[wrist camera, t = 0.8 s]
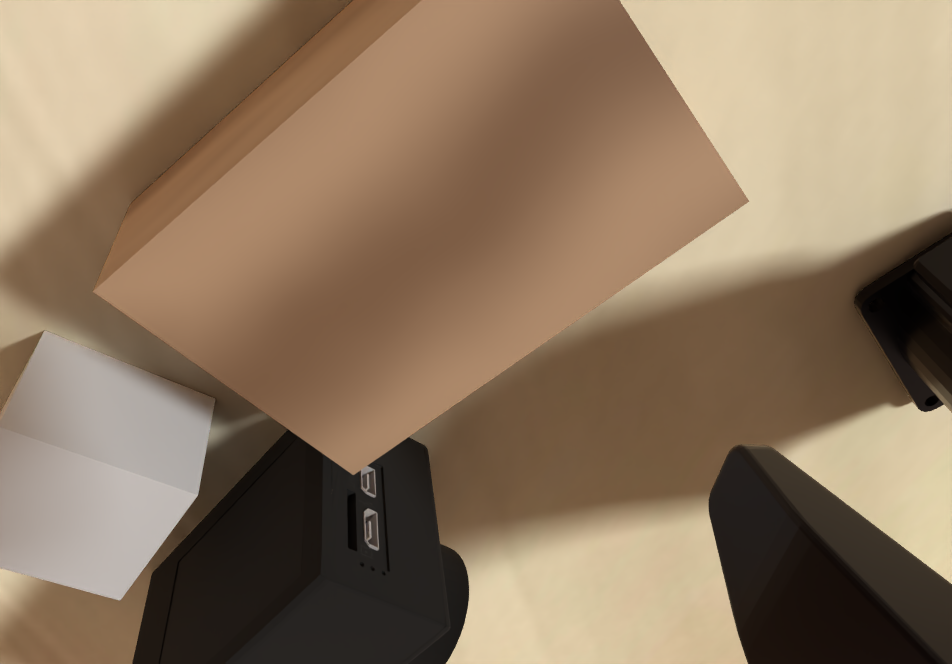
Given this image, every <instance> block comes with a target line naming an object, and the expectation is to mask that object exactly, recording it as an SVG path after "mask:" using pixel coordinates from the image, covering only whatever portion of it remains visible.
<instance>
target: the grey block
mask: <svg viewBox="0 0 952 664" xmlns="http://www.w3.org/2000/svg"><path fill="white" fill-rule="evenodd" d="M214 404H215V398H212V397H210V396H207V395H205V394H202V393H200V392H197V391H195V390H192V389H190V388H187V387H185V386H182V385H180V384H177V383H175V382H172V381H170V380H167V379H165V378H162V377H160V376H157V375H155V374H152V373H150V372H147V371H145V370H142V369H140V368H137V367H135V366H132V365H130V364H128V363H125V362H123V361H120V360H118V359H115V358H113V357H110V356H108V355H105V354H103V353H100V352H98V351H95V350H93V349H90V348H88V347H85V346H83V345H80V344H78V343H75V342H73V341H70V340H68V339H65V338H63V337H60V336H58V335H55V334H53V333H50V332H48V331H45V330H44V332H43V334H42V336H41V338H40V340H39V342H38V343H37V345H36V347H35V349H34V351H33V353H32V355H31V357H30V358H29V360H28V362H27V364H26V366H25V368H24V370H23V371H22V373H21V375H20V377H19V379H18V381H17V383H16V384H15V386H14V388H13V390H12V392H11V394H10V396H9V398H8V399H7V401H6V403H5V405H4V407H3V409H2V411H1V412H0V568H2V569H5V570H9V571H13V572H16V573H20V574H24V575H27V576H31V577H35V578H38V579H42V580H46V581H49V582H53V583H57V584H61V585H64V586H68V587H72V588H75V589H79V590H83V591H86V592H90V593H94V594H97V595H101V596H105V597H108V598H112V599H116V600H119V601H120V600H121V599H122V598H123V596H124V595H125V593H126V592H127V591H128V589H129V588H130V587H131V585H132V584H133V583H134V581H135V580H136V579H137V577H138V576H139V575H140V573H141V572H142V570H143V569H144V568H145V566H146V565H147V564H148V562H149V561H150V560H151V558H152V557H153V556H154V554H155V553H156V551H157V550H158V549H159V547H160V546H161V545H162V543H163V542H164V541H165V539H166V538H167V537H168V535H169V534H170V533H171V531H172V530H173V528H174V527H175V526H176V524H177V523H178V522H179V520H180V519H181V518H182V516H183V515H184V514H185V512H186V511H187V509H188V508H189V507H190V505H191V504H192V503H193V501H194V500H195V499H196V497H197V496H198V493H199V487H200V482H201V476H202V470H203V465H204V459H205V454H206V448H207V443H208V437H209V432H210V426H211V421H212V415H213V410H214Z"/></svg>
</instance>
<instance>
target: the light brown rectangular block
mask: <svg viewBox="0 0 952 664" xmlns="http://www.w3.org/2000/svg"><path fill="white" fill-rule="evenodd" d="M747 202H749V200H748V199H747V197H746V196H745V194H744V193H743V191H742V190H741V188H740V187H739V185H738V183H737V182H736V180H735V179H734V177H733V176H732V174H731V173H730V171H729V169H728V168H727V166H726V165H725V163H724V162H723V160H722V159H721V157H720V156H719V154H718V152H717V151H716V149H715V148H714V146H713V145H712V143H711V142H710V140H709V139H708V137H707V135H706V134H705V132H704V131H703V129H702V128H701V126H700V125H699V123H698V121H697V120H696V118H695V117H694V115H693V114H692V112H691V111H690V109H689V108H688V106H687V104H686V103H685V101H684V100H683V98H682V97H681V95H680V94H679V92H678V91H677V89H676V87H675V86H674V84H673V83H672V81H671V80H670V78H669V77H668V75H667V74H666V72H665V70H664V69H663V67H662V66H661V64H660V63H659V61H658V60H657V58H656V56H655V55H654V53H653V52H652V50H651V49H650V47H649V46H648V44H647V43H646V41H645V39H644V38H643V36H642V35H641V33H640V32H639V30H638V29H637V27H636V26H635V24H634V22H633V21H632V19H631V18H630V16H629V15H628V13H627V12H626V10H625V9H624V7H623V5H622V4H621V2H620V1H619V0H353V1H352V2H351V3H349V4H348V5H347V6H346V7H345V8H344V9H343V10H342V11H341V12H340V13H339V14H337V15H336V16H335V17H334V18H333V19H332V20H331V21H330V22H329V23H328V24H327V25H325V26H324V27H323V28H322V29H321V30H320V31H319V32H318V33H317V34H316V35H314V36H313V37H312V38H311V39H310V40H309V41H308V42H307V43H306V44H305V45H304V46H302V47H301V48H300V49H299V50H298V51H297V52H296V53H295V54H294V55H293V56H292V57H290V58H289V59H288V60H287V61H286V62H285V63H284V64H283V65H282V66H281V67H279V68H278V69H277V70H276V71H275V72H274V73H273V74H272V75H271V76H270V77H269V78H267V79H266V80H265V81H264V82H263V83H262V84H261V85H260V86H259V87H258V88H257V89H255V90H254V91H253V92H252V93H251V94H250V95H249V96H248V97H247V98H246V99H244V100H243V101H242V102H241V103H240V104H239V105H238V106H237V107H236V108H235V109H234V110H232V111H231V112H230V113H229V114H228V115H227V116H226V117H225V118H224V119H223V120H221V121H220V122H219V123H218V124H217V125H216V126H215V127H214V128H213V129H212V130H211V131H209V132H208V133H207V134H206V135H205V136H204V137H203V138H202V139H201V140H200V141H199V142H197V143H196V144H195V145H194V146H193V147H192V148H191V149H190V150H189V151H188V152H186V153H185V154H184V155H183V156H182V157H181V158H180V159H179V160H178V161H177V162H176V163H174V164H173V165H172V166H171V167H170V168H169V169H168V170H167V171H166V172H165V173H164V174H162V175H161V176H160V177H159V178H158V179H157V180H156V181H155V182H154V183H153V184H151V185H150V186H149V187H148V188H147V189H146V190H145V191H144V192H143V193H142V194H141V195H139V196H138V197H137V198H136V199H135V200H134V201H133V202H132V203H131V204H130V206H129V208H128V210H127V213H126V215H125V217H124V220H123V222H122V224H121V227H120V229H119V231H118V234H117V236H116V238H115V241H114V243H113V245H112V248H111V250H110V252H109V255H108V257H107V259H106V262H105V264H104V266H103V269H102V271H101V273H100V276H99V278H98V280H97V283H96V285H95V287H94V290H93V292H94V293H95V294H97V295H98V296H100V297H101V298H102V299H104V300H105V301H107V302H108V303H109V304H111V305H112V306H114V307H115V308H117V309H118V310H119V311H121V312H122V313H124V314H125V315H127V316H128V317H129V318H131V319H132V320H134V321H135V322H136V323H138V324H139V325H141V326H142V327H144V328H145V329H146V330H148V331H149V332H151V333H152V334H154V335H155V336H156V337H158V338H159V339H161V340H162V341H163V342H165V343H166V344H168V345H169V346H171V347H172V348H173V349H175V350H176V351H178V352H179V353H181V354H182V355H183V356H185V357H186V358H188V359H189V360H190V361H192V362H193V363H195V364H196V365H198V366H199V367H200V368H202V369H203V370H205V371H206V372H208V373H209V374H210V375H212V376H213V377H215V378H216V379H217V380H219V381H220V382H222V383H223V384H225V385H226V386H227V387H229V388H230V389H232V390H233V391H234V392H236V393H237V394H239V395H240V396H242V397H243V398H244V399H246V400H247V401H249V402H250V403H252V404H253V405H254V406H256V407H257V408H259V409H260V410H261V411H263V412H264V413H266V414H267V415H269V416H270V417H271V418H273V419H274V420H276V421H277V422H279V423H280V424H281V425H283V426H284V427H286V428H287V429H288V430H290V431H291V432H293V433H294V434H296V435H297V436H298V437H300V438H301V439H303V440H304V441H306V442H307V443H308V444H310V445H311V446H313V447H314V448H315V449H317V450H318V451H320V452H321V453H323V454H324V455H325V456H327V457H328V458H330V459H331V460H333V461H334V462H335V463H337V464H338V465H340V466H341V467H342V468H344V469H345V470H347V471H348V472H350V473H351V474H352V475H354V474H356V473H357V472H359V471H360V470H362V469H363V468H365V467H366V466H367V465H369V464H370V463H372V462H373V461H375V460H376V459H378V458H379V457H380V456H382V455H383V454H385V453H386V452H388V451H389V450H391V449H392V448H393V447H395V446H396V445H398V444H399V443H401V442H402V441H404V440H405V439H406V438H408V437H409V436H411V435H412V434H414V433H415V432H417V431H418V430H419V429H421V428H422V427H424V426H425V425H427V424H428V423H430V422H431V421H432V420H434V419H435V418H437V417H438V416H440V415H441V414H443V413H444V412H445V411H447V410H448V409H450V408H451V407H453V406H454V405H456V404H457V403H458V402H460V401H461V400H463V399H464V398H466V397H467V396H469V395H470V394H471V393H473V392H474V391H476V390H477V389H479V388H480V387H482V386H483V385H484V384H486V383H487V382H489V381H490V380H492V379H493V378H495V377H496V376H497V375H499V374H500V373H502V372H503V371H505V370H506V369H508V368H509V367H510V366H512V365H513V364H515V363H516V362H518V361H519V360H521V359H522V358H523V357H525V356H526V355H528V354H529V353H531V352H532V351H534V350H535V349H536V348H538V347H539V346H541V345H542V344H544V343H545V342H547V341H548V340H549V339H551V338H552V337H554V336H555V335H557V334H558V333H560V332H561V331H562V330H564V329H565V328H567V327H568V326H570V325H571V324H573V323H574V322H575V321H577V320H578V319H580V318H581V317H583V316H584V315H586V314H587V313H588V312H590V311H591V310H593V309H594V308H596V307H597V306H599V305H600V304H601V303H603V302H604V301H606V300H607V299H609V298H610V297H612V296H613V295H614V294H616V293H617V292H619V291H620V290H622V289H623V288H625V287H626V286H627V285H629V284H630V283H632V282H633V281H635V280H636V279H638V278H639V277H640V276H642V275H643V274H645V273H646V272H648V271H649V270H651V269H652V268H653V267H655V266H656V265H658V264H659V263H661V262H662V261H664V260H665V259H666V258H668V257H669V256H671V255H672V254H674V253H675V252H677V251H678V250H679V249H681V248H682V247H684V246H685V245H687V244H688V243H690V242H691V241H692V240H694V239H695V238H697V237H698V236H700V235H701V234H703V233H704V232H705V231H707V230H708V229H710V228H711V227H713V226H714V225H716V224H717V223H718V222H720V221H721V220H723V219H724V218H726V217H727V216H729V215H730V214H731V213H733V212H734V211H736V210H737V209H739V208H740V207H742V206H743V205H744V204H746V203H747Z"/></svg>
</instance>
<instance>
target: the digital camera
mask: <svg viewBox="0 0 952 664" xmlns="http://www.w3.org/2000/svg"><path fill="white" fill-rule="evenodd" d="M468 601H469V582H468V575H467V570H466V567H465V565H464V562H463V560H462V559H461V557H460V556H459V554H457V553H456V552H455V551H454V550H452V549H450V548H448V547H446V546H444V545H441V544H440V541H439V533H438V525H437V517H436V510H435V502H434V494H433V487H432V479H431V471H430V463H429V456H428V450H427V448H426V447H425V446H424V445H422V444H420V443H418V442H416V441H415V440H413V439H411V438H409V437H408V438H406V439H405V440H404V441H402V442H401V443H399V444H398V445H396V446H395V447H393V448H392V449H391V450H389V451H388V452H386V453H385V454H383V455H382V456H380V457H379V458H378V459H376V460H375V461H373V462H372V463H370V464H369V465H367V466H366V467H365V468H363V469H362V470H360V471H359V472H357V473H356V474H354V475H352V474H351V473H350V472H348V471H347V470H345V469H344V468H342V467H341V466H340V465H338V464H337V463H335V462H334V461H333V460H331V459H330V458H328V457H327V456H325V455H324V454H323V453H321V452H320V451H318V450H317V449H315V448H314V447H313V446H311V445H310V444H308V443H307V442H306V441H304V440H303V439H301V438H300V437H298V436H297V435H296V434H294V433H293V432H291V431H290V430H287V431H286V433H285V434H284V435H283V436H282V437H281V438H280V439H279V440H278V441H277V442H276V443H275V444H274V445H273V446H272V447H271V448H270V449H269V451H268V452H267V453H266V454H265V455H264V456H263V457H262V458H261V459H260V460H259V461H258V462H257V463H256V464H255V465H254V466H253V467H252V469H251V470H250V471H249V472H248V473H247V474H246V475H245V476H244V477H243V478H242V479H241V480H240V481H239V482H238V483H237V484H236V485H235V487H234V488H233V489H232V490H231V491H230V492H229V493H228V494H227V495H226V496H225V497H224V498H223V499H222V500H221V501H220V502H219V503H218V505H217V506H216V507H215V508H214V509H213V510H212V511H211V512H210V513H209V514H208V515H207V516H206V517H205V518H204V519H203V520H202V521H201V523H200V524H199V525H198V526H197V527H196V528H195V529H194V530H193V531H192V532H191V533H190V534H189V535H188V536H187V537H186V538H185V539H184V541H183V542H182V543H181V544H180V545H179V546H178V547H177V548H176V549H175V550H174V551H173V552H172V553H171V554H170V555H169V556H168V557H167V559H166V560H165V561H164V562H163V563H162V564H161V565H160V566H159V567H158V568H157V569H156V570H155V571H154V572H153V573H152V576H151V581H150V586H149V590H148V595H147V599H146V604H145V609H144V613H143V618H142V622H141V627H140V632H139V636H138V641H137V645H136V650H135V655H134V659H133V664H446V662H447V661H448V659H449V658H450V656H451V654H452V652H453V650H454V648H455V646H456V644H457V642H458V639H459V637H460V635H461V632H462V629H463V626H464V622H465V618H466V613H467V608H468Z"/></svg>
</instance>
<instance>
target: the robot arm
mask: <svg viewBox="0 0 952 664" xmlns="http://www.w3.org/2000/svg"><path fill="white" fill-rule="evenodd" d="M875 299H876V301H874V302H873V303H872V304H870V303H871V302H872V301H873V300H875ZM854 304H855V308H856V309H857V311H858V313H859V314H860V316H861V318H862V319H863V321H864V323H865V324H866V326H867V328H868V329H869V331H870V332H871V334H872V336H873V337H874V339H875V341H876V342H877V344H878V346H879V347H880V349H881V351H882V352H883V354H884V356H885V357H886V359H887V361H888V362H889V364H890V366H891V367H892V369H893V371H894V372H895V374H896V375H897V377H898V379H899V380H900V382H901V384H902V385H903V387H904V389H905V390H906V392H907V394H908V395H909V397H910V399H911V400H912V402H913V403H914V404H915V405H916V406H917V408H918V409H919V410H921V411H924V412H927V411H932V410H934V409H937V408H938V407H940V406H942V405H945V406H946V407H947V408H948V409H949V410H950V411H951V412H952V233H951V234H950V235H948V236H946V237H945V238H943V239H942V240H940V241H938V242H937V243H935V244H934V245H932V246H930V247H929V248H927V249H926V250H924V251H923V252H921V253H919V254H918V255H916V256H915V257H913V258H911V259H910V260H908V261H907V262H905V263H903V264H902V265H900V266H899V267H897V268H895V269H894V270H892V271H891V272H889V273H888V274H886V275H884V276H883V277H881V278H880V279H878V280H876V281H875V282H873V283H872V284H870V285H868V286H867V287H865V288H864V289H863V290H861V291H860V292H859V293H858V295H857V296H856V297H855V301H854ZM709 515H710V519H711V523H712V528H713V532H714V536H715V540H716V545H717V549H718V553H719V557H720V562H721V566H722V570H723V574H724V579H725V583H726V587H727V591H728V595H729V600H730V604H731V608H732V612H733V616H734V620H735V624H736V628H737V631H738V635H739V638H740V641H741V644H742V647H743V650H744V653H745V656H746V659H747V662H748V664H952V584H951V583H949V582H948V581H947V580H945V579H944V578H943V577H942V576H940V575H939V574H938V573H936V572H935V571H934V570H932V569H931V568H930V567H928V566H927V565H926V564H924V563H923V562H922V561H921V560H919V559H918V558H917V557H915V556H914V555H913V554H911V553H910V552H909V551H907V550H906V549H905V548H903V547H902V546H901V545H900V544H898V543H897V542H896V541H894V540H893V539H892V538H890V537H889V536H888V535H886V534H885V533H884V532H883V531H881V530H880V529H879V528H877V527H876V526H875V525H873V524H872V523H871V522H869V521H868V520H867V519H865V518H864V517H863V516H862V515H860V514H859V513H858V512H856V511H855V510H854V509H852V508H851V507H850V506H848V505H847V504H846V503H844V502H843V501H842V500H841V499H839V498H838V497H837V496H835V495H834V494H833V493H831V492H830V491H829V490H827V489H826V488H825V487H823V486H822V485H821V484H820V483H818V482H817V481H816V480H814V479H813V478H812V477H810V476H809V475H808V474H806V473H805V472H804V471H802V470H801V469H800V468H799V467H797V466H796V465H795V464H793V463H792V462H791V461H789V460H788V459H787V458H785V457H784V456H783V455H781V454H780V453H779V452H778V451H776V450H775V449H773V448H772V447H769V446H765V445H736V446H734V447H733V448H732V449H731V450H730V451H729V453H728V455H727V457H726V459H725V461H724V464H723V466H722V468H721V470H720V473H719V475H718V477H717V479H716V481H715V484H714V486H713V488H712V490H711V493H710V497H709Z"/></svg>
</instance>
